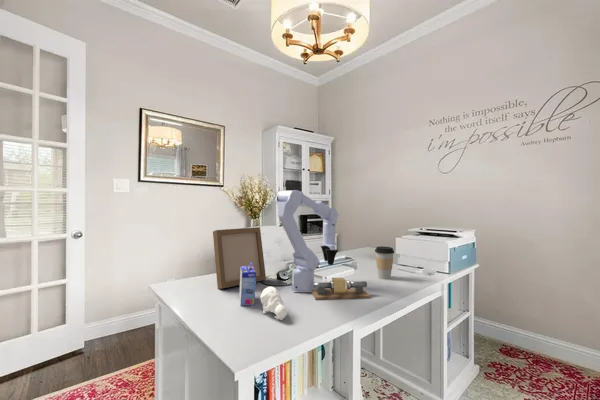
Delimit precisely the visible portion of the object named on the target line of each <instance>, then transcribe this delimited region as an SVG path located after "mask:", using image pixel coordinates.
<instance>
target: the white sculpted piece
mask: <svg viewBox="0 0 600 400" xmlns="http://www.w3.org/2000/svg"><path fill="white" fill-rule="evenodd" d="M259 298H260V303H261V304H262V314H263V315H266V314H267V313H268V312H271V313H274V315H276V316H274V318H275V319H276V320H280V321H281V322H282V321H283V320H284V318H286V316H287V315H288V309H287V308H286V307H285V305H284V304H285V303H284V300H283V299H282V297H281V294H280V291H279V290H278V289H277V288H275V287H274V286H267V287H266V288H264V289H263V290H262V292H261V294H260V297H259Z"/></svg>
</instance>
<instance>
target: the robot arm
mask: <svg viewBox="0 0 600 400" xmlns="http://www.w3.org/2000/svg"><path fill="white" fill-rule="evenodd" d="M275 203H276V205H277V214H278V215H277V216H278V219H279V221H280V223H281V225H282V227H283V229H284V231H285V233H286V236H287V238H288V239H289V242H290V244H291V246H292V248H293V250H294V251H293V252H292V256H293V263H294V265H295V267H296V269H293V271H292V280H291V281H292V283H291V287H292V291H293V293H312V291H311V290H316V289H313V283H315V270H316V268H317V266H318V265H319V258H318V256H317V255H316V254H315V253H314V250H312V249H310V248H309V247H308V246H307V244H306V241H305V240H304V239H305V238H304V237H303V235H302V232H301V230H300V228H299V226H298V223H297V222H296V219H295V217H294V214H295V213H296V211H297V210H298V209H299V206H300V205H303V206H305V207H308V208H309V209H310V210H311V212H312V213H313V214H315V215H317V216H319V217H320V218H321V219H322V245H320V248H321V250H322V255H323V260H324V262H327V265H329V266H333V265H334V264H335V263H334V262H335V258H336V256H337V253H338V252H339V250H338V249H336V246H337V245H338V242H336V224H337V222H338V221H337V220H338V218H339V213H338V212H339V211H338V210H337V209H336V208H335V207H330V205H329V204H326V203H323V201H322V200H316V201H314V200H313V199H311V197H309V196H307V195H305V194H304V193H303V192H302V191H299V190H298V189H294V190H293V189H292V190H290V189H289V190H279V191H278V192H277V194H276V197H275Z"/></svg>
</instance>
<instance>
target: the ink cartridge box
mask: <svg viewBox="0 0 600 400" xmlns="http://www.w3.org/2000/svg"><path fill="white" fill-rule="evenodd" d="M252 264H253V263H252V262H251V263H250V264H249V266H243V267H241V271H240V285H239V296H238V297H239V303H240V306H244V307H245V306H255V305H256V283H257V281H256V271H255V269H254V266H252ZM250 265H251V266H250Z"/></svg>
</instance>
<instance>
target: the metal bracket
mask: <svg viewBox="0 0 600 400" xmlns="http://www.w3.org/2000/svg"><path fill="white" fill-rule="evenodd" d="M293 269H297V268H296V266H295V267H293V268H292V267H290V266H289V265H286V266H285V268H282V269H280V270H279V271H288V272H289V273H290V274H288V277H289V279H288V280H286V281H283V282H285V283H287V284H286V285H288V284H289V285H292V271H293ZM279 271H277V272H275V274H270V275H269V276H268V277H267V278H268V279H270V278H272V279H271V280H273V279H276V278H277V273H278V272H279ZM285 283H284V284H285Z"/></svg>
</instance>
